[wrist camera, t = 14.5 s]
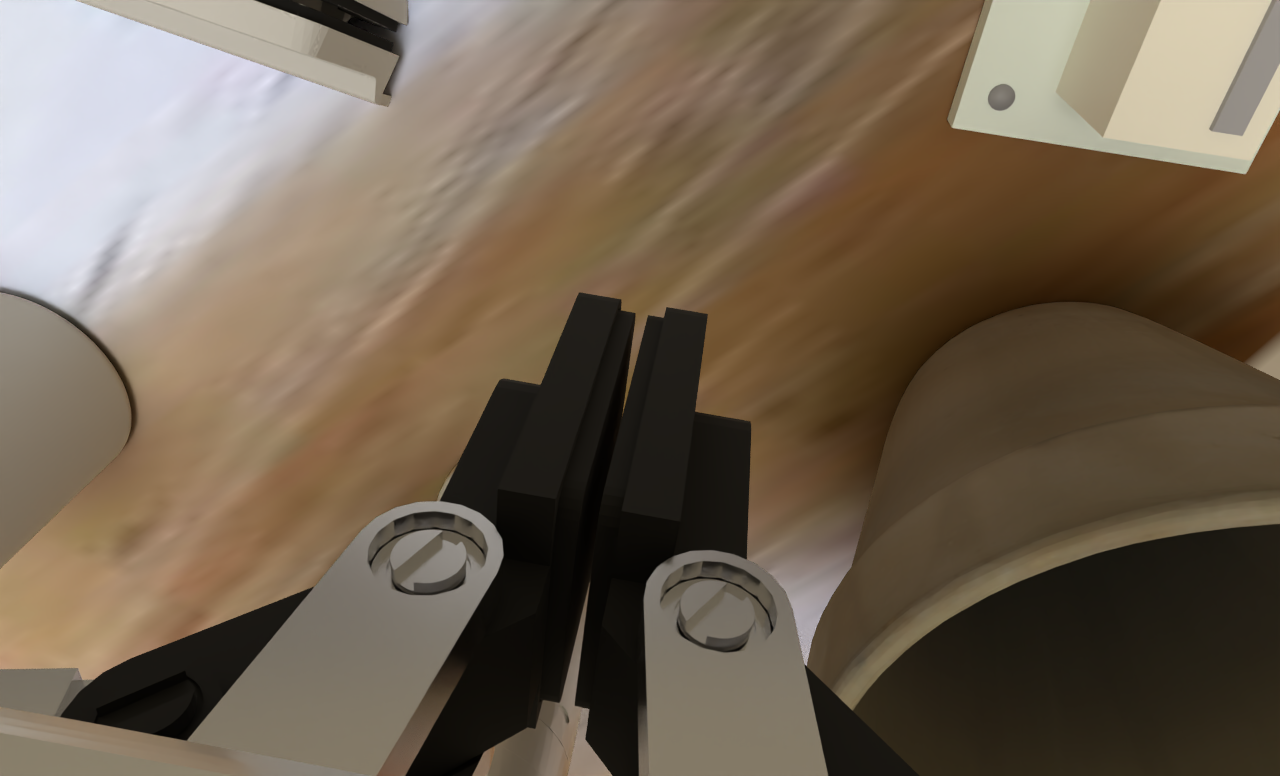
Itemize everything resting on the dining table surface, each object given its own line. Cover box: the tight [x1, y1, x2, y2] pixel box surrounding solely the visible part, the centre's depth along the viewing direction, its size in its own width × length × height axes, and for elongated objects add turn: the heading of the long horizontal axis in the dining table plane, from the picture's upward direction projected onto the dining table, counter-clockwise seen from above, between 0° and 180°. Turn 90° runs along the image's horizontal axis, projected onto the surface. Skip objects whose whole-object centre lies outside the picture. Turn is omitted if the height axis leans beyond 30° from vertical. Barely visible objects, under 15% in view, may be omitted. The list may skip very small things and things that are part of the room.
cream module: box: [1056, 0, 1280, 161], centre depth 30 cm, size 6×5×6 cm
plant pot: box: [807, 302, 1280, 776], centre depth 35 cm, size 25×25×22 cm
